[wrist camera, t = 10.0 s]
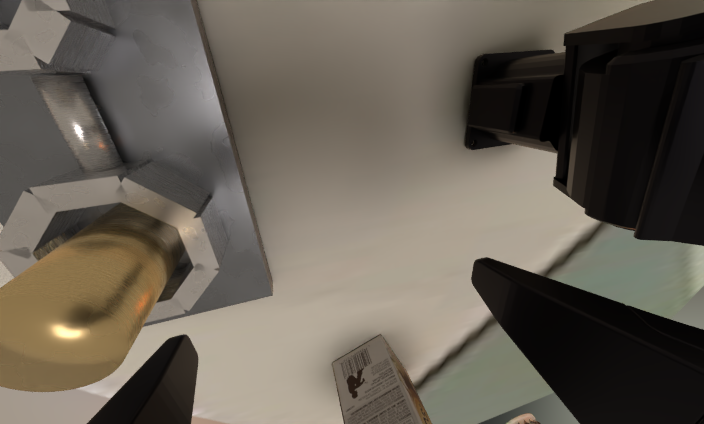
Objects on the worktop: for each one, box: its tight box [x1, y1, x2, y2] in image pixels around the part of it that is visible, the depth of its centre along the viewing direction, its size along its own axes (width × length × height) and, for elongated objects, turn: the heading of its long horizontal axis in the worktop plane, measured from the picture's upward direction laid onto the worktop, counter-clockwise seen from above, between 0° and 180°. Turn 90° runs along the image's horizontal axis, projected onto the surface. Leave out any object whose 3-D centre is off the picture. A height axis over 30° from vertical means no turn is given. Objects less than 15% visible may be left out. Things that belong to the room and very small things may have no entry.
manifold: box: [0, 0, 273, 327], centre depth 13 cm, size 12×24×4 cm, turn 4°
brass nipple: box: [0, 203, 186, 392], centre depth 12 cm, size 4×4×8 cm
